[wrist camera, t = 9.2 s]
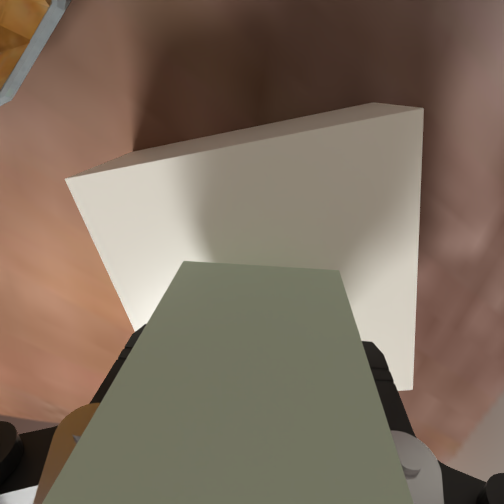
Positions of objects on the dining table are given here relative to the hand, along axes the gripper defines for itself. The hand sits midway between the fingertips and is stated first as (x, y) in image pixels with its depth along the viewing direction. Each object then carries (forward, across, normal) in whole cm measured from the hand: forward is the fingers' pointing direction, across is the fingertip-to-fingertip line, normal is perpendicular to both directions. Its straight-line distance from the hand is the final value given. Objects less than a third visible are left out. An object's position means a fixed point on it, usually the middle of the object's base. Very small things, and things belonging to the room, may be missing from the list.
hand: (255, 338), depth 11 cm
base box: (+8, 0, 0) cm, 8 cm away
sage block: (+1, 0, 0) cm, 1 cm away
